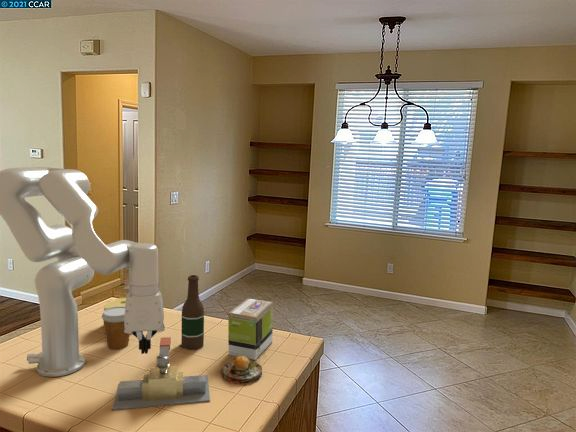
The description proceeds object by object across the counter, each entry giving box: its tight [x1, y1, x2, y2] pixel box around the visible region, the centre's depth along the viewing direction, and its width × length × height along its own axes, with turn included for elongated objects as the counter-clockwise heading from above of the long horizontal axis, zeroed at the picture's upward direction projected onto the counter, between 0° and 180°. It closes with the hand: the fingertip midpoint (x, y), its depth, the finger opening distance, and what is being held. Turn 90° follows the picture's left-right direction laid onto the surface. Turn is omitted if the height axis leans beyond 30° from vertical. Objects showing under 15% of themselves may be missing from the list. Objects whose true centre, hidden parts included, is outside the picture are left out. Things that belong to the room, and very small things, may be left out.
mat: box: [111, 374, 211, 411], centre depth 116 cm, size 24×13×1 cm, turn 103°
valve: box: [117, 365, 206, 401], centre depth 114 cm, size 22×6×8 cm, turn 103°
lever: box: [156, 336, 172, 369], centre depth 119 cm, size 15×3×2 cm, turn 13°
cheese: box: [102, 297, 126, 336], centre depth 155 cm, size 10×11×10 cm
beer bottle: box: [181, 274, 205, 351], centre depth 143 cm, size 8×8×24 cm
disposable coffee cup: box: [101, 306, 130, 351], centre depth 141 cm, size 10×10×12 cm
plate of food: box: [221, 355, 263, 385], centre depth 127 cm, size 12×12×8 cm
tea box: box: [227, 297, 274, 361], centre depth 143 cm, size 15×10×15 cm, turn 161°
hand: (144, 351), depth 121 cm, fingers closed
